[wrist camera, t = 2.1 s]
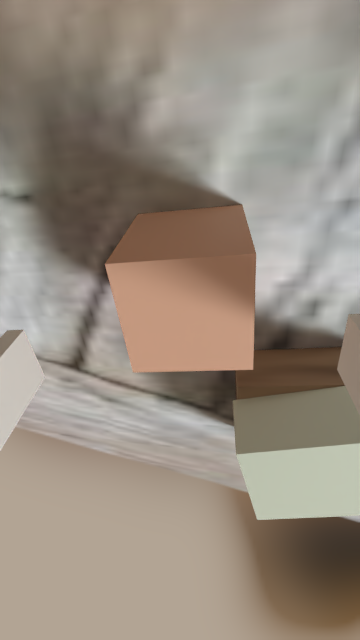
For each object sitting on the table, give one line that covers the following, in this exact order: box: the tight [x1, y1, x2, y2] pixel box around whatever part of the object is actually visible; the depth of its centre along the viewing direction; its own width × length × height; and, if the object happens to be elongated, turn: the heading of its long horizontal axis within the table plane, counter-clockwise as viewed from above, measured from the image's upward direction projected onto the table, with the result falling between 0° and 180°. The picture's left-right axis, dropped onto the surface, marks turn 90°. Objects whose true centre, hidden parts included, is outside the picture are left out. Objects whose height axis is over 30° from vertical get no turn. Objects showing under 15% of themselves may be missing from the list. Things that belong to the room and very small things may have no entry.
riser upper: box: [233, 386, 360, 520], centre depth 21 cm, size 8×8×4 cm
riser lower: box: [235, 347, 345, 400], centre depth 24 cm, size 9×9×4 cm
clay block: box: [105, 205, 256, 372], centre depth 17 cm, size 6×6×7 cm
